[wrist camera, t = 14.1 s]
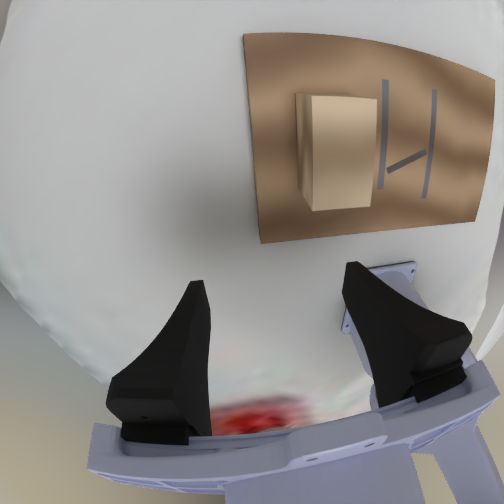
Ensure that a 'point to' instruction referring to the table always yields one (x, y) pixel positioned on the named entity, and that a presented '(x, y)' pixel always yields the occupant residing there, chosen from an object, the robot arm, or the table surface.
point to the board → (387, 132)
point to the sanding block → (335, 149)
